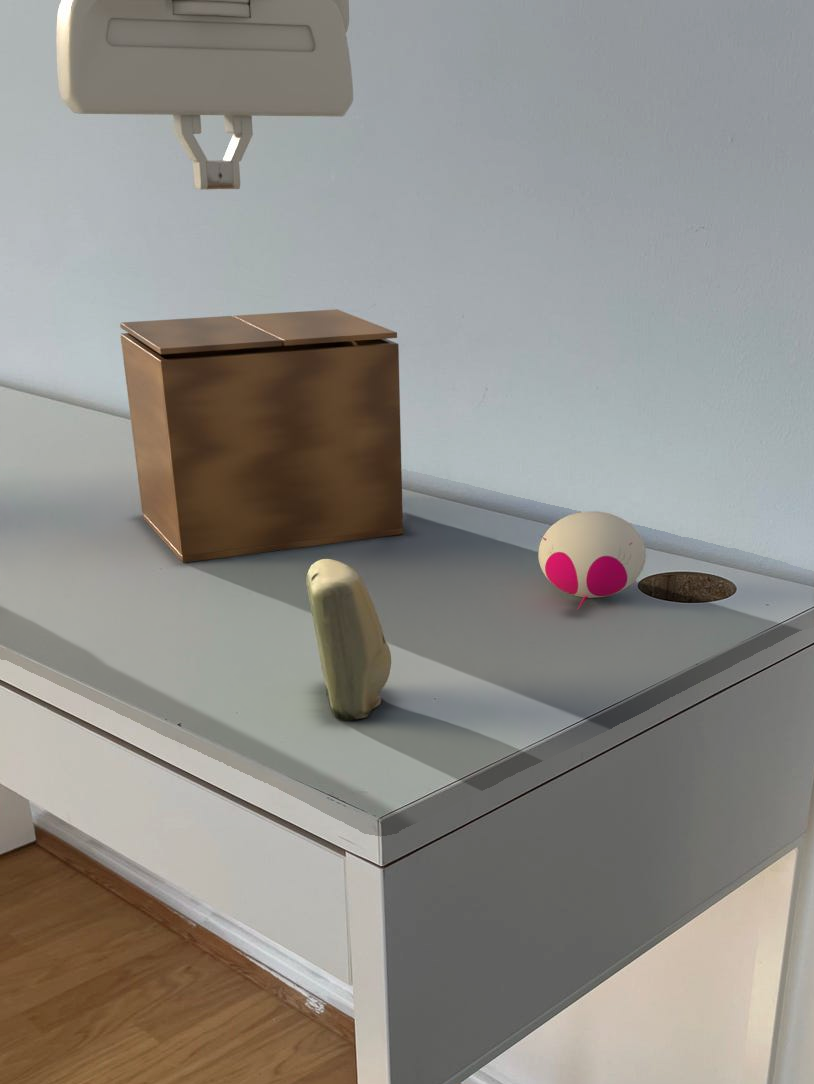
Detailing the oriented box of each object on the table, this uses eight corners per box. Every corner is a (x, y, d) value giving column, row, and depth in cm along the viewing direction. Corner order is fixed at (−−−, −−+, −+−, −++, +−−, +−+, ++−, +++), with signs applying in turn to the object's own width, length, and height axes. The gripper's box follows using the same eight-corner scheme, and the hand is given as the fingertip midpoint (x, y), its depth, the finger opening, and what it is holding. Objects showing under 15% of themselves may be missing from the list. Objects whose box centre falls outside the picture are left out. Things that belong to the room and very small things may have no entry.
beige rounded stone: (279, 699, 78) (269, 566, 74) (347, 675, 81) (341, 547, 77) (341, 728, 74) (334, 591, 70) (410, 702, 77) (407, 569, 73)
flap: (160, 354, 92) (160, 348, 92) (120, 328, 102) (119, 322, 102) (282, 346, 96) (281, 340, 95) (231, 321, 106) (231, 315, 105)
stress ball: (533, 640, 95) (516, 582, 89) (557, 552, 98) (542, 490, 92) (636, 649, 93) (626, 590, 87) (658, 558, 96) (649, 496, 90)
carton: (182, 563, 100) (159, 348, 92) (142, 518, 110) (118, 322, 102) (403, 534, 106) (398, 332, 99) (346, 494, 117) (338, 309, 109)
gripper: (332, -32, 94) (338, 184, 101) (37, -49, 87) (66, 187, 94) (364, -38, 90) (368, 190, 96) (54, -56, 82) (84, 193, 89)
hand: (217, 189), depth 95 cm, fingers closed
